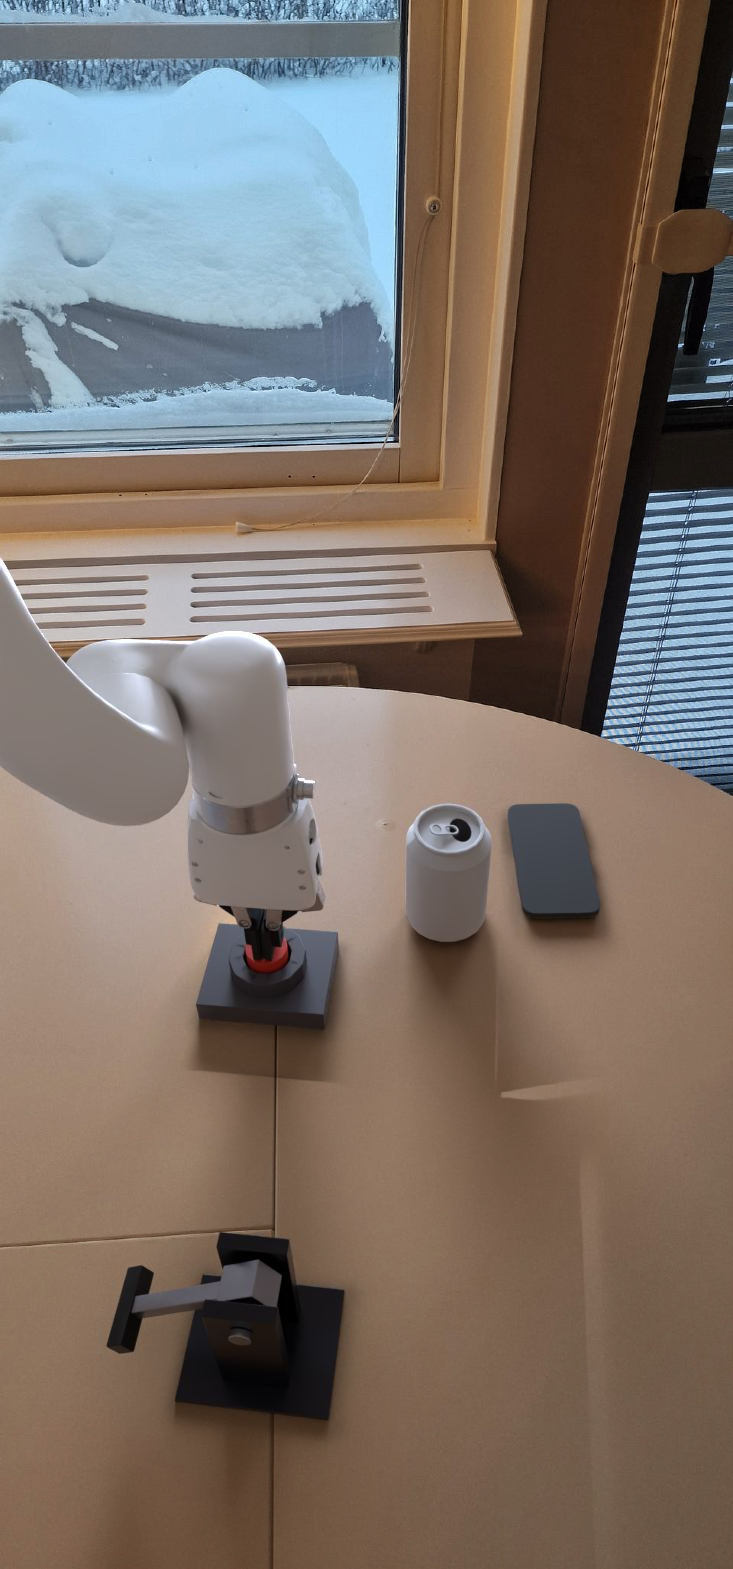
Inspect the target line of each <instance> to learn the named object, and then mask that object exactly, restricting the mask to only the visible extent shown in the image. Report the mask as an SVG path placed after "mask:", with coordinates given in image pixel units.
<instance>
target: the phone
mask: <svg viewBox="0 0 733 1569" xmlns="http://www.w3.org/2000/svg"><path fill="white" fill-rule="evenodd" d="M507 822H508V823H507V824H508V829H509V835H510V836H509V837H510V841H511V847H512V855H513V861H514V868H515V875H516V882H517V883H516V884H517V888H518V893H519V900H520V907H521V911H522V913H523V915H525V916H526V917H528V918H531V919H582V918H584V919H585V918H593V917H596V916H597V915H598V914H599V913H600V909H601V901H600V895H599V891H598V888H597V883H596V878H595V874H594V869H593V865H592V861H591V856H590V852H589V849H588V842H587V839H586V834H585V830H584V826H583V822H582V818H581V813H580V810H579V808H578V807H577V806H576V805H575V804H572V803H562V802H559V803H518V804H513V805H511V806H510V807H509V808H508V810H507Z"/></svg>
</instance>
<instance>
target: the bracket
mask: <svg viewBox="0 0 733 1569" xmlns="http://www.w3.org/2000/svg"><path fill="white" fill-rule="evenodd" d="M215 1248H216V1251H217V1253H218V1258H219V1262H220V1265H221V1266H220V1267H221V1268H222V1270H223V1267H224V1266H226V1265H231V1264H237V1263H242V1262H247V1261H253V1260H260V1261H262V1262H263V1263H265V1264H266V1265H267V1266H269V1267H270V1268H272V1269H273V1270H275V1271H276V1272H278V1273H279V1274H281V1275H282V1278H281V1284H280V1290H279V1296H278V1302H277V1307H273V1306H264V1305H255V1304H246V1303H237V1302H228V1301H219V1300H210V1299H205V1301H204V1305H203V1309H198V1310H194V1312H193V1317H192V1321H191V1326H190V1329H189V1335H188V1338H187V1343H186V1347H185V1352H184V1356H183V1361H182V1366H181V1370H180V1374H179V1378H178V1384H177V1387H176V1393H175V1397H174V1401H175V1403H180V1404H190V1405H197V1406H206V1407H214V1408H221V1409H222V1408H223V1409H232V1410H239V1411H247V1412H255V1413H264V1414H271V1415H279V1416H280V1415H281V1416H289V1417H296V1418H304V1419H313V1420H320V1421H321V1420H322V1421H329V1420H330V1412H331V1406H332V1405H331V1404H332V1398H333V1397H332V1395H333V1387H334V1381H335V1370H336V1362H337V1356H338V1347H339V1340H340V1331H341V1324H342V1315H343V1309H344V1308H343V1307H344V1299H345V1292H346V1291H345V1289H344V1288H338V1287H337V1288H336V1287H327V1286H317V1285H308V1284H300V1283H297V1277H296V1270H295V1265H294V1259H293V1253H292V1246H291V1241H290V1239H289V1238H282V1237H272V1236H264V1235H259V1234H244V1233H234V1232H227V1231H220V1232H219V1233H218V1236H217V1242H216V1245H215ZM221 1277H222V1275H217V1274H216V1275H215V1274H209V1273H208V1274H207V1273H203V1274H202V1277H201V1281H200V1285H202V1284H208V1283H214V1282H220V1281H221Z"/></svg>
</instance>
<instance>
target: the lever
mask: <svg viewBox="0 0 733 1569" xmlns="http://www.w3.org/2000/svg"><path fill="white" fill-rule="evenodd" d="M154 1275H155V1272H154V1271H153V1270H151V1269H149V1268H147V1267H146V1266H144V1265H142V1264H140V1265H134V1266H130V1267H128V1268H127V1269H126V1274H125V1277H124V1280H123V1284H122V1288H121V1292H120V1295H119V1298H118V1302H117V1306H116V1309H115V1313H114V1317H113V1319H112V1324H111V1327H110V1331H109V1334H108V1337H107V1342H106V1346H105V1347H106V1348H108V1349H109V1350H112V1351H113V1352H114V1353H117V1354H119V1355H122V1354H129V1353H134V1352H135V1349H136V1346H137V1341H138V1338H139V1334H140V1330H141V1326H142V1323H143V1319H148V1318H154V1317H160V1316H166V1315H173V1314H179V1313H184V1312H190V1311H195V1310H198V1309H203V1305H204V1301H205V1299H210V1300H219V1301H228V1302H237V1303H246V1304H255V1305H264V1306H273V1307H277V1302H278V1296H279V1290H280V1284H281V1278H282V1275H281V1274H279V1273H278V1272H276V1271H275V1270H273V1269H272V1268H270V1267H269V1266H267V1265H266V1264H265V1263H263V1262H262V1261H260V1260H253V1261H247V1262H242V1263H237V1264H231V1265H226V1266H224V1267H223V1269H222V1272H221V1276H222V1277H221V1281H220V1282H214V1283H208V1284H202V1285H201V1284H198V1285H191V1286H186V1287H181V1288H174V1289H168V1290H163V1291H157V1292H152V1293H150V1291H151V1287H152V1284H153V1279H154Z"/></svg>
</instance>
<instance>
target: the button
mask: <svg viewBox="0 0 733 1569" xmlns="http://www.w3.org/2000/svg"><path fill="white" fill-rule="evenodd" d="M245 951H246V957H247V964H248V967H249V969H251V970H253V971H254V972H256V973H265V974H271V973H274V972H276V971H279V970H282V969H283V968H284V967H285V966H286V965H287V964H288V960H289V956H288V948H287V942H286V940H285V938H283V943H282V947H275V951H274V956H273V960H272V961H266V959H264V957H263V958H262V959H260V960H254V959H253V953H252V947H251V945H246V947H245Z"/></svg>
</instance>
